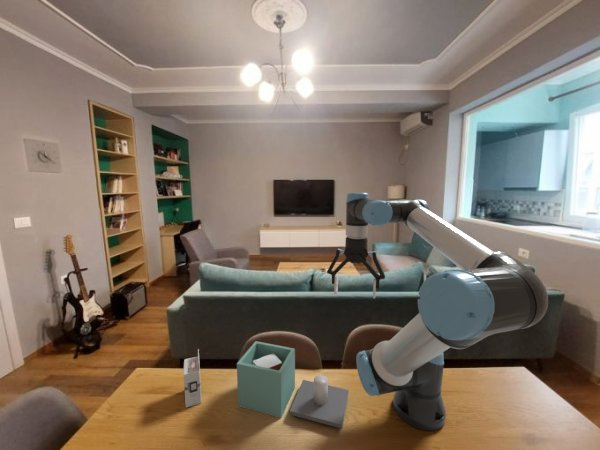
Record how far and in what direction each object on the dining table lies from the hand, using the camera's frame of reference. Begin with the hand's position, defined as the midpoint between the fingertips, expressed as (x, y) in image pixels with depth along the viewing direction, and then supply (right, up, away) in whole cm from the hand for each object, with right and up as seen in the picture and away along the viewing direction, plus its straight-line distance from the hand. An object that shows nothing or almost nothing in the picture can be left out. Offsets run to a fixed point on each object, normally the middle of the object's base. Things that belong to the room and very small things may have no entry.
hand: (354, 294), depth 97 cm
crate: (-31, -33, -6) cm, 45 cm away
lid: (-13, -34, -11) cm, 38 cm away
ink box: (-56, -33, -6) cm, 65 cm away
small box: (-31, -33, -6) cm, 46 cm away
